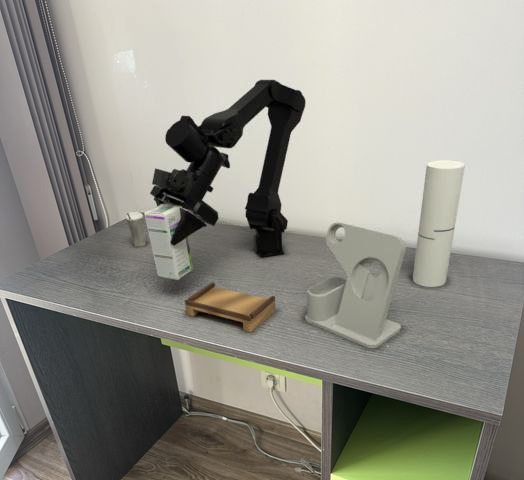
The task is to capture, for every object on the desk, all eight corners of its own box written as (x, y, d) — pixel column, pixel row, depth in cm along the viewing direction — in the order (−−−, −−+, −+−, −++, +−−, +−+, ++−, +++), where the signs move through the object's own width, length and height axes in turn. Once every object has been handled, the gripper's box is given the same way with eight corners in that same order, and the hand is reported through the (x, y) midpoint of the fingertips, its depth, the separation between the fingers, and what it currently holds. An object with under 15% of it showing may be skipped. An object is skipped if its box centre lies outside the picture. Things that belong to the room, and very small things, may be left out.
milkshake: (127, 248, 138) (119, 212, 133) (136, 241, 142) (130, 206, 137) (141, 249, 137) (134, 213, 131) (151, 242, 141) (144, 207, 136)
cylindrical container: (447, 287, 108) (467, 168, 94) (413, 286, 109) (428, 168, 95) (444, 273, 113) (462, 160, 100) (411, 272, 115) (425, 160, 101)
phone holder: (300, 319, 99) (299, 232, 90) (332, 301, 105) (334, 218, 95) (373, 350, 89) (380, 255, 79) (404, 328, 94) (414, 237, 85)
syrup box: (178, 280, 105) (166, 214, 97) (156, 276, 108) (143, 211, 100) (193, 269, 110) (183, 205, 101) (172, 266, 112) (160, 202, 104)
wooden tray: (275, 311, 103) (275, 296, 101) (251, 332, 96) (249, 317, 94) (213, 296, 110) (212, 282, 108) (186, 315, 103) (184, 300, 102)
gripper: (149, 145, 103) (113, 210, 104) (197, 157, 91) (155, 232, 91) (187, 175, 111) (153, 236, 112) (236, 190, 99) (197, 258, 100)
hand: (163, 239), depth 104 cm, fingers closed on syrup box, 7 cm apart
